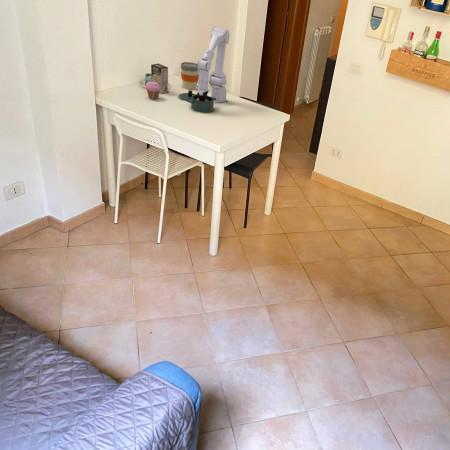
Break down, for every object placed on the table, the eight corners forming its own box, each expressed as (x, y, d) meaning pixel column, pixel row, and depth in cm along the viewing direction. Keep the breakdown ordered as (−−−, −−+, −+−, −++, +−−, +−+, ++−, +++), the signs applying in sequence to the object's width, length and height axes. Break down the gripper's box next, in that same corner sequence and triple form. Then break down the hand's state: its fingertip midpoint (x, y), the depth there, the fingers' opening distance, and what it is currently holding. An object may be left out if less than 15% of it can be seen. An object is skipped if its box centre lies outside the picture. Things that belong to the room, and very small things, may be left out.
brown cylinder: (209, 105, 266) (210, 98, 264) (208, 108, 262) (208, 100, 260) (196, 103, 265) (196, 96, 263) (194, 106, 262) (195, 98, 259)
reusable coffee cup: (190, 91, 289) (190, 68, 281) (176, 85, 294) (176, 63, 286) (203, 88, 299) (203, 66, 291) (189, 83, 304) (190, 61, 296)
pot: (183, 106, 262) (183, 96, 259) (208, 103, 274) (208, 93, 271) (195, 114, 255) (196, 103, 252) (221, 110, 267) (221, 100, 264)
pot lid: (174, 95, 276) (174, 88, 274) (193, 93, 286) (193, 86, 283) (186, 102, 269) (187, 95, 266) (205, 100, 278) (206, 93, 276)
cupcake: (153, 101, 262) (152, 84, 256) (142, 97, 265) (142, 80, 259) (163, 98, 268) (163, 82, 263) (153, 94, 271) (153, 78, 266)
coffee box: (150, 89, 279) (150, 64, 270) (158, 88, 284) (158, 63, 275) (161, 93, 275) (160, 68, 267) (168, 92, 280) (168, 66, 272)
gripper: (198, 76, 262) (198, 98, 269) (194, 83, 249) (193, 106, 257) (210, 78, 262) (209, 100, 269) (206, 85, 250) (205, 107, 257)
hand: (202, 103), depth 263 cm, fingers closed on brown cylinder, 4 cm apart
